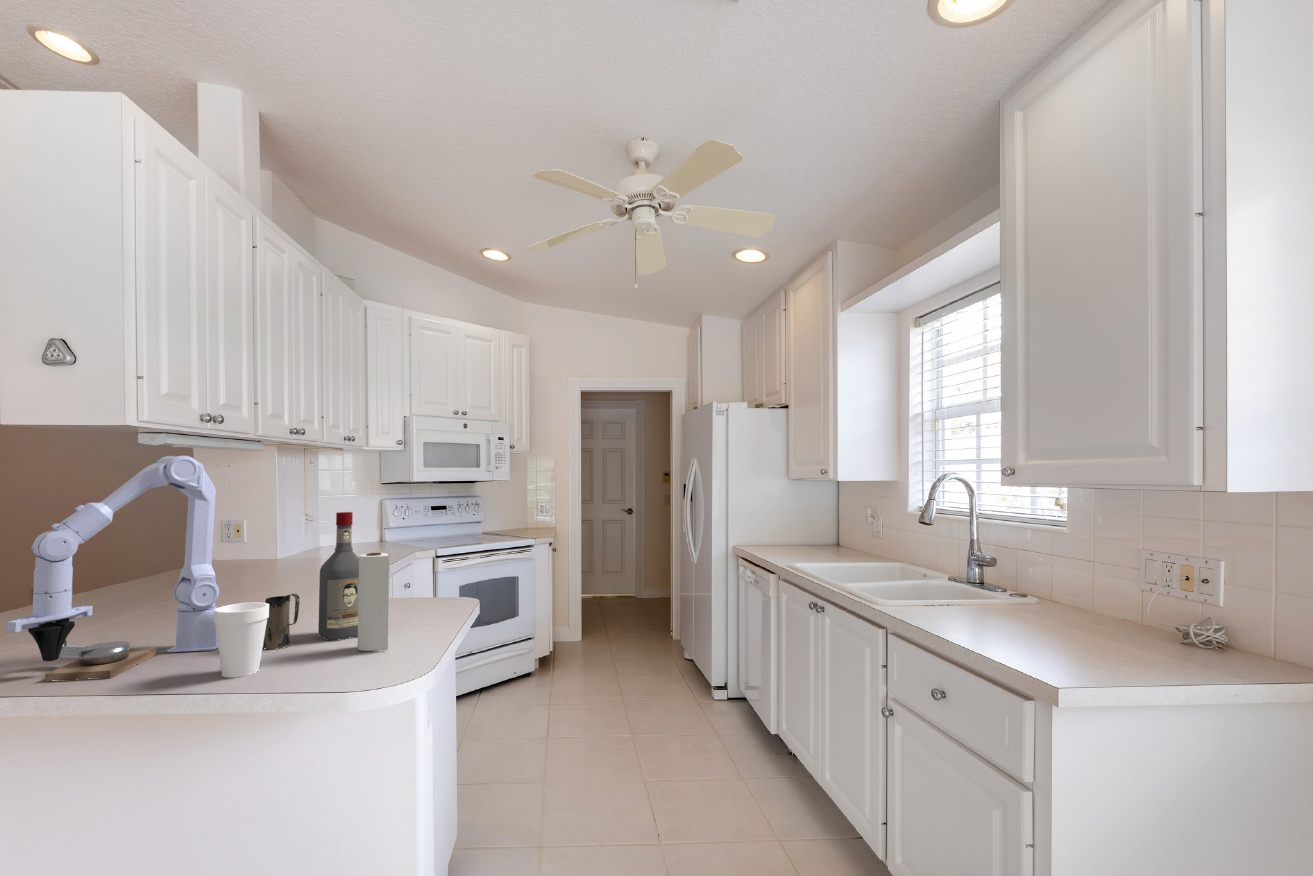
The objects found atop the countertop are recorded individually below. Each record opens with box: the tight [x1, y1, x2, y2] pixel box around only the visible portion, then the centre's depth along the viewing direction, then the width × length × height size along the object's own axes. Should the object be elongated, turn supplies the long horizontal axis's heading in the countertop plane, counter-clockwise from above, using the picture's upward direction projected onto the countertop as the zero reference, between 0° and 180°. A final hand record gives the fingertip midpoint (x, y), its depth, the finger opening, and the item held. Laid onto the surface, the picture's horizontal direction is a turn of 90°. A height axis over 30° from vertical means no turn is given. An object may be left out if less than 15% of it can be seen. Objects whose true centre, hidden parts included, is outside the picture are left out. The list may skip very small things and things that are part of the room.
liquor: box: [318, 511, 359, 641], centre depth 161 cm, size 9×9×30 cm
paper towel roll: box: [357, 552, 391, 652], centre depth 149 cm, size 7×6×21 cm
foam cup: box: [214, 602, 269, 679], centre depth 132 cm, size 10×9×13 cm
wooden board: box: [44, 647, 157, 682], centre depth 135 cm, size 11×16×2 cm
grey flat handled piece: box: [58, 639, 131, 665], centre depth 135 cm, size 15×8×3 cm, turn 86°
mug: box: [262, 593, 300, 650], centre depth 151 cm, size 8×6×12 cm
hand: (50, 660), depth 130 cm, fingers closed
